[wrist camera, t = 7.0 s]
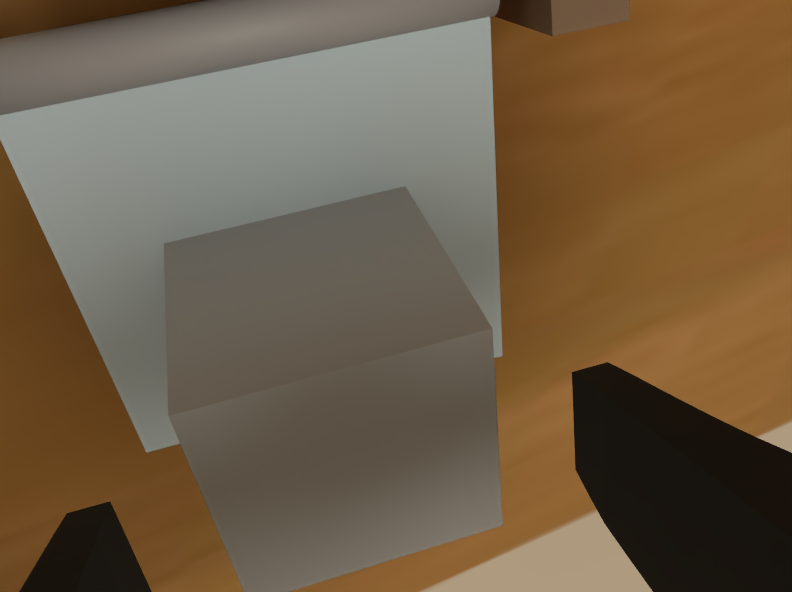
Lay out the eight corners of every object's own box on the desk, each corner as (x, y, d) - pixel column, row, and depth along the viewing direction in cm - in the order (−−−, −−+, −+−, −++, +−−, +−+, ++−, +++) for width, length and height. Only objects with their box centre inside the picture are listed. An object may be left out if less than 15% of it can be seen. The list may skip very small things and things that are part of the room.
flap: (-188, -333, 10) (-279, -362, 8) (443, -405, 12) (511, -446, 9) (143, 405, 19) (141, 489, 17) (482, 316, 20) (523, 382, 18)
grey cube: (227, 418, 18) (249, 604, 14) (163, 243, 15) (168, 415, 11) (427, 363, 18) (502, 525, 14) (405, 186, 15) (492, 328, 11)
